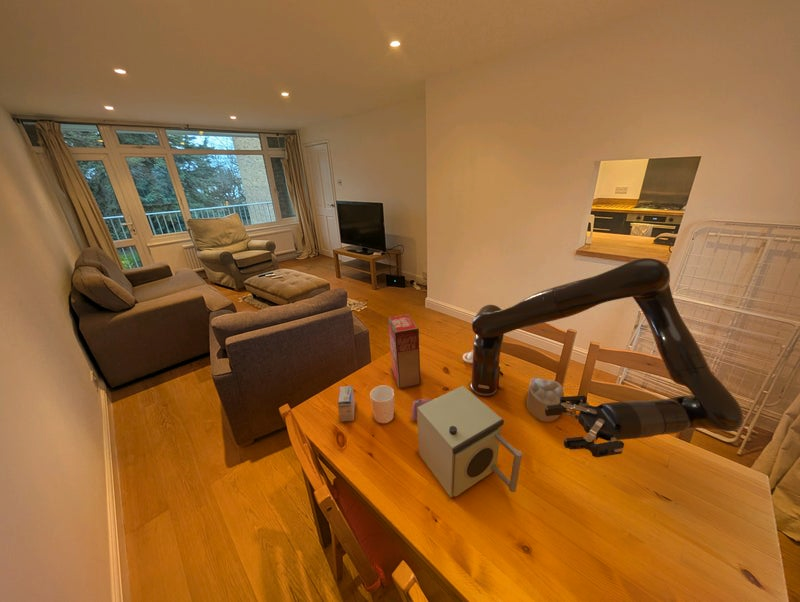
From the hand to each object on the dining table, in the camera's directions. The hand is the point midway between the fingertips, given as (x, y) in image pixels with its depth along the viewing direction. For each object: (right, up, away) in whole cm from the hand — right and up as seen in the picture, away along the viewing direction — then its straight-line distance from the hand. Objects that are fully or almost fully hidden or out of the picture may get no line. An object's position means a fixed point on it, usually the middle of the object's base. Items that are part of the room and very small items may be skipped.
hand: (554, 426), depth 65 cm
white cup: (-40, -12, +36) cm, 55 cm away
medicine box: (-52, -12, +38) cm, 65 cm away
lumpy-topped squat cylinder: (+15, -9, +36) cm, 40 cm away
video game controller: (-25, -12, +35) cm, 44 cm away
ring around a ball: (-3, +2, +61) cm, 61 cm away
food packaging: (-32, -3, +54) cm, 63 cm away
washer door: (-13, -21, +9) cm, 26 cm away
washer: (-18, -18, +19) cm, 32 cm away
